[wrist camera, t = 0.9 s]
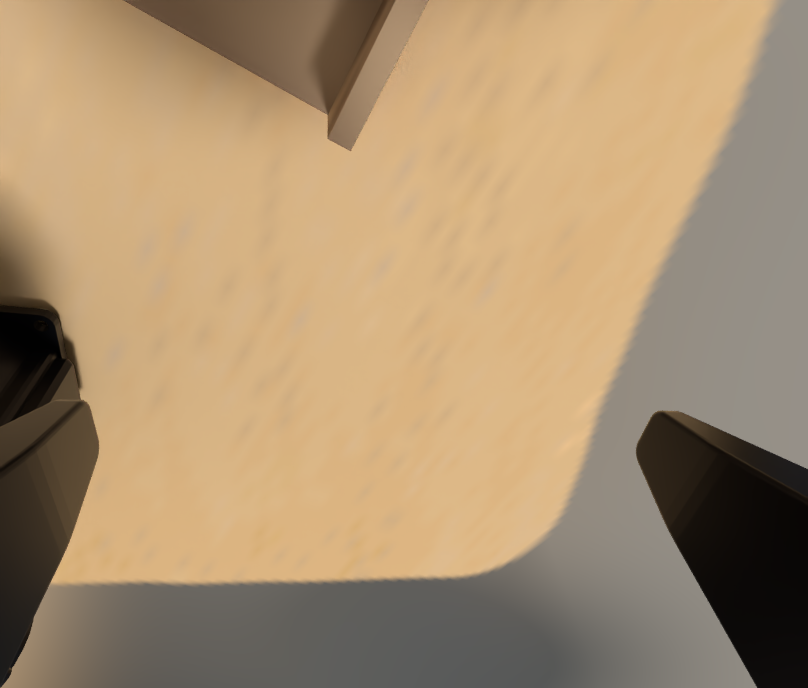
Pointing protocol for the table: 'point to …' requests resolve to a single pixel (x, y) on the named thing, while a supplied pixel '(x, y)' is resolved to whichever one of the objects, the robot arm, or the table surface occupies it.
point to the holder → (305, 47)
